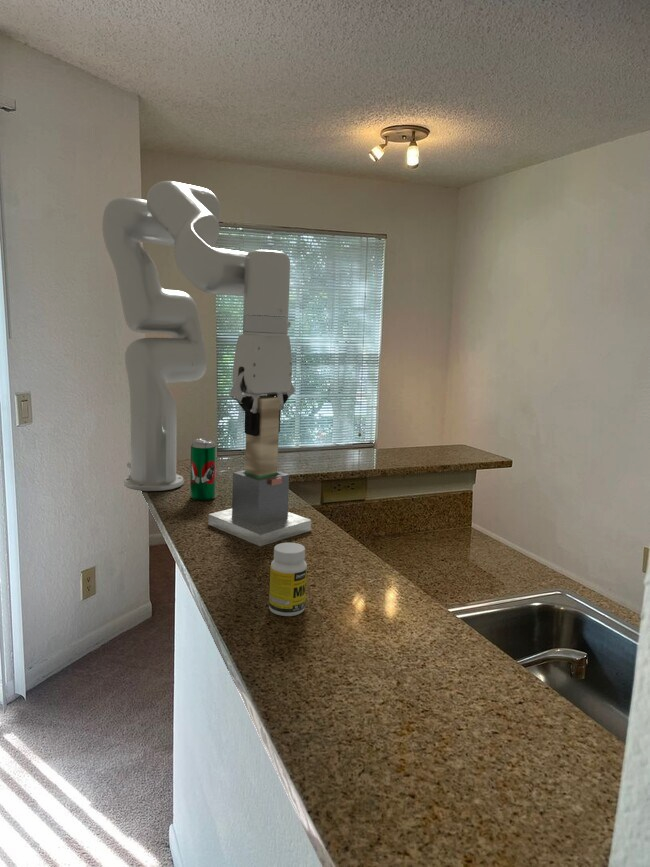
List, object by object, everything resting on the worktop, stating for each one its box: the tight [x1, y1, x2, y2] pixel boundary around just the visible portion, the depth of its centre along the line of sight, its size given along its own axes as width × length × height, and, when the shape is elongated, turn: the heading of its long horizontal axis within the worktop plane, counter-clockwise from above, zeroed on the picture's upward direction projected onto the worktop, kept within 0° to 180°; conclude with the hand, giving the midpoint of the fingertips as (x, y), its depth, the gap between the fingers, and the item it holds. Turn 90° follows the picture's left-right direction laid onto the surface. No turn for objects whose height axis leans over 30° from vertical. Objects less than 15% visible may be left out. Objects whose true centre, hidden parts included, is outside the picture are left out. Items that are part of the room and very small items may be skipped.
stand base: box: [208, 469, 312, 547], centre depth 111 cm, size 14×12×10 cm
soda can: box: [189, 438, 217, 502], centre depth 127 cm, size 5×5×12 cm
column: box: [243, 394, 280, 479], centre depth 109 cm, size 4×4×16 cm
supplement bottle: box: [268, 542, 308, 617], centre depth 81 cm, size 5×5×8 cm
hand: (262, 432), depth 108 cm, fingers closed on column, 4 cm apart
